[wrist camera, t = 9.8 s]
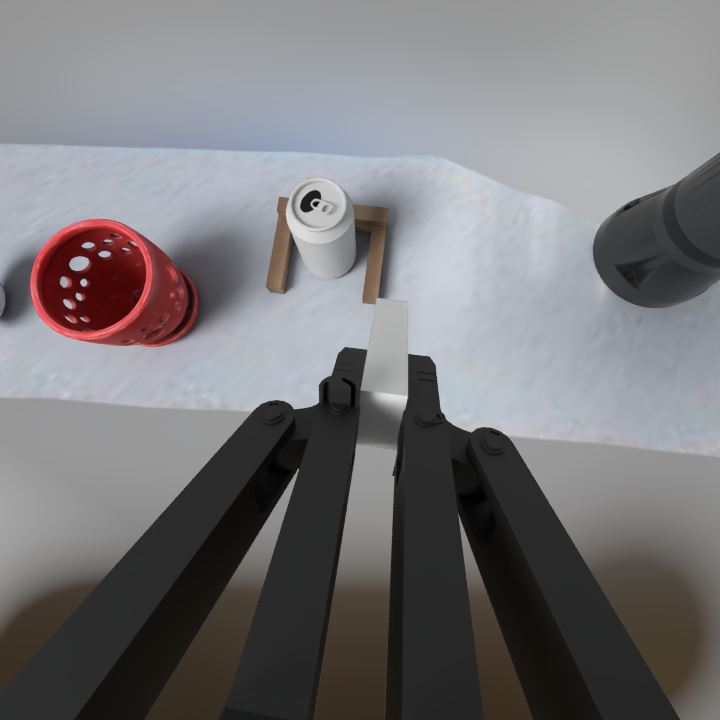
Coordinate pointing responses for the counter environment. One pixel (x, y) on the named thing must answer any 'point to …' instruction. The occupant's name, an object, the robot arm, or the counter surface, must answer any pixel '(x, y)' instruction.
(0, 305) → the donut
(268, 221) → the counter surface
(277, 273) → the walnut frame
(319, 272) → the can
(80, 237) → the plant pot
